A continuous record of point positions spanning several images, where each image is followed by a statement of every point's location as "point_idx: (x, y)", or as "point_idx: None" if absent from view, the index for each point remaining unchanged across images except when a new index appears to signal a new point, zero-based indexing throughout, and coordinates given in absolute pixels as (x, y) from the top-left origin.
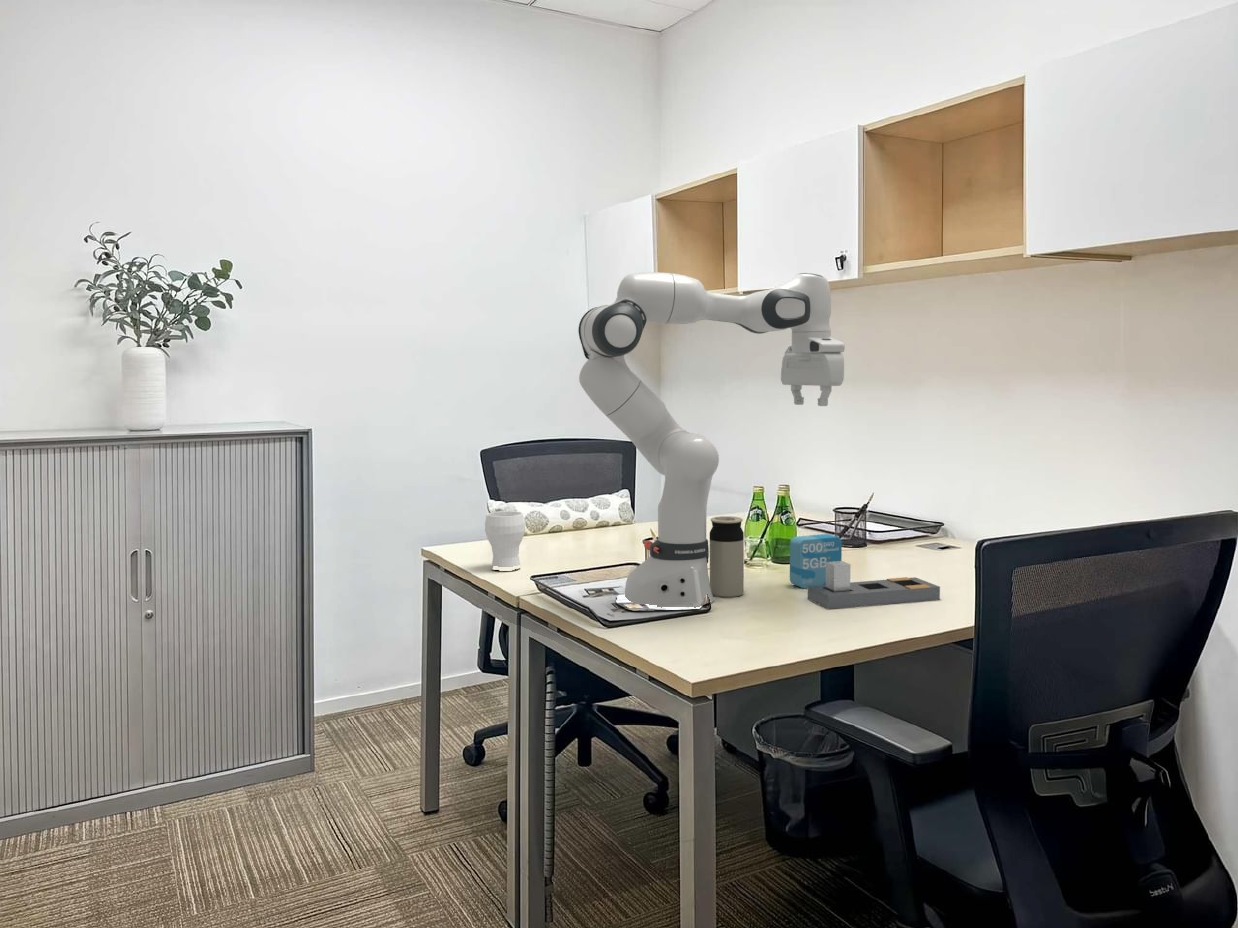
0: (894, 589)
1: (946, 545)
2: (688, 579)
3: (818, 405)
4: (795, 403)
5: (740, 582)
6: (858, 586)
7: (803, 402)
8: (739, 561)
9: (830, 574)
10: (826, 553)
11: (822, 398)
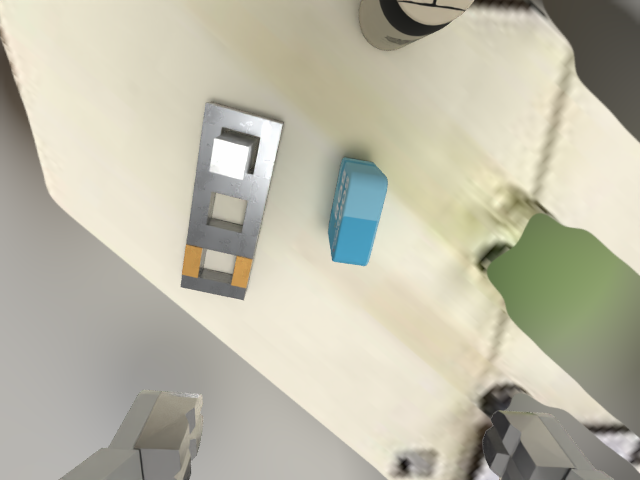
0: (194, 223)
1: (411, 474)
2: None
3: (198, 394)
4: (532, 413)
5: (363, 21)
6: (236, 192)
7: (488, 462)
8: (369, 8)
9: (233, 139)
10: (336, 223)
11: (110, 455)
